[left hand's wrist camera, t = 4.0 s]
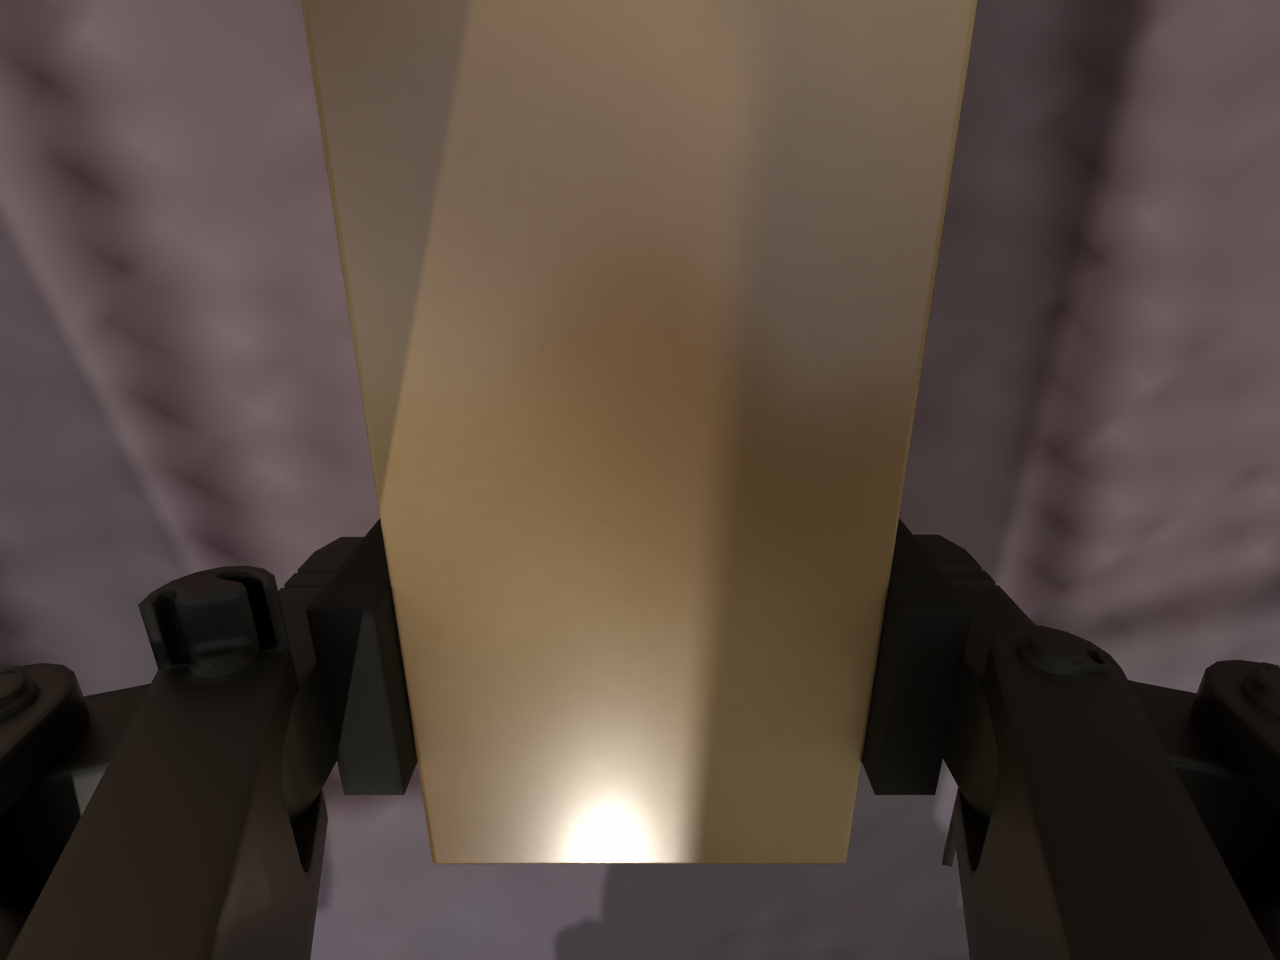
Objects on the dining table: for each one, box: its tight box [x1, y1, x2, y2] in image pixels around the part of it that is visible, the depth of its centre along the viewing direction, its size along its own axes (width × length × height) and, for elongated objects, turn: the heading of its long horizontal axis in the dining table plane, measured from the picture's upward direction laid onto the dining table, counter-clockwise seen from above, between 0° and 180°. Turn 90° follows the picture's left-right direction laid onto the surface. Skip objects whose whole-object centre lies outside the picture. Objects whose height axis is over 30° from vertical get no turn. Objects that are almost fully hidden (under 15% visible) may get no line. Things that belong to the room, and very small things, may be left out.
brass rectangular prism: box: [301, 0, 978, 864], centre depth 10 cm, size 19×6×9 cm, turn 0°
